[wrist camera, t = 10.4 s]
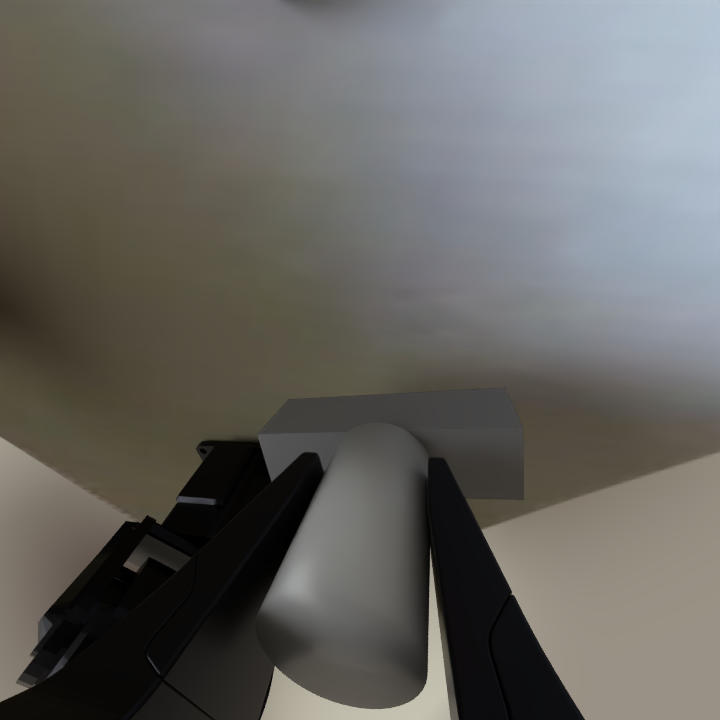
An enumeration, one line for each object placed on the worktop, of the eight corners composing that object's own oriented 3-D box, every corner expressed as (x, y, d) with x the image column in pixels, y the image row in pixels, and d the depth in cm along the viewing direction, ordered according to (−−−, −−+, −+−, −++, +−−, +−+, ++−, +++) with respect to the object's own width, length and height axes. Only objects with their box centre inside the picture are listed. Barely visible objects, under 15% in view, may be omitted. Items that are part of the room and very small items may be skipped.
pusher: (506, 455, 12) (602, 755, 5) (303, 456, 14) (173, 671, 7) (504, 379, 11) (620, 621, 4) (286, 392, 13) (118, 568, 6)
